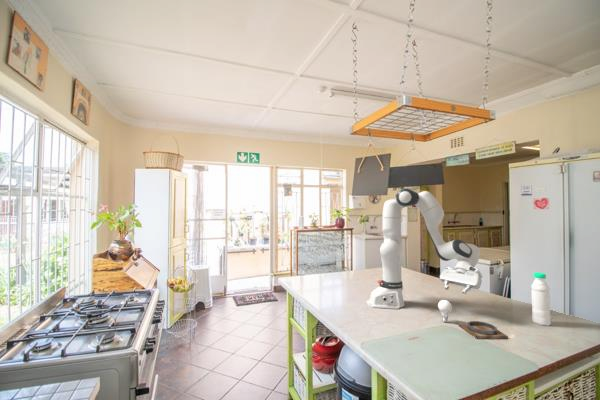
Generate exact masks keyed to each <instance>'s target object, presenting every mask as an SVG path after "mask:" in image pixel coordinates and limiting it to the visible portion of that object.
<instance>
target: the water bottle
mask: <svg viewBox="0 0 600 400" xmlns="http://www.w3.org/2000/svg"><path fill="white" fill-rule="evenodd" d="M532 275H533V278H534V280H533V282H532V284H531V285H530V289H531V293H530V294H531V306H532V309H531V313H532V315H531V318H532V319H531V320H532V322H533V323H534V324H536V325H539V326H544V327H546V326H547V327H549V326H551V324H552V319H551V297H550V287H549V285H548V284H547V282H546V278H547V277H546V273H544V272H537V271H535V272H533V274H532Z"/></svg>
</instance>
